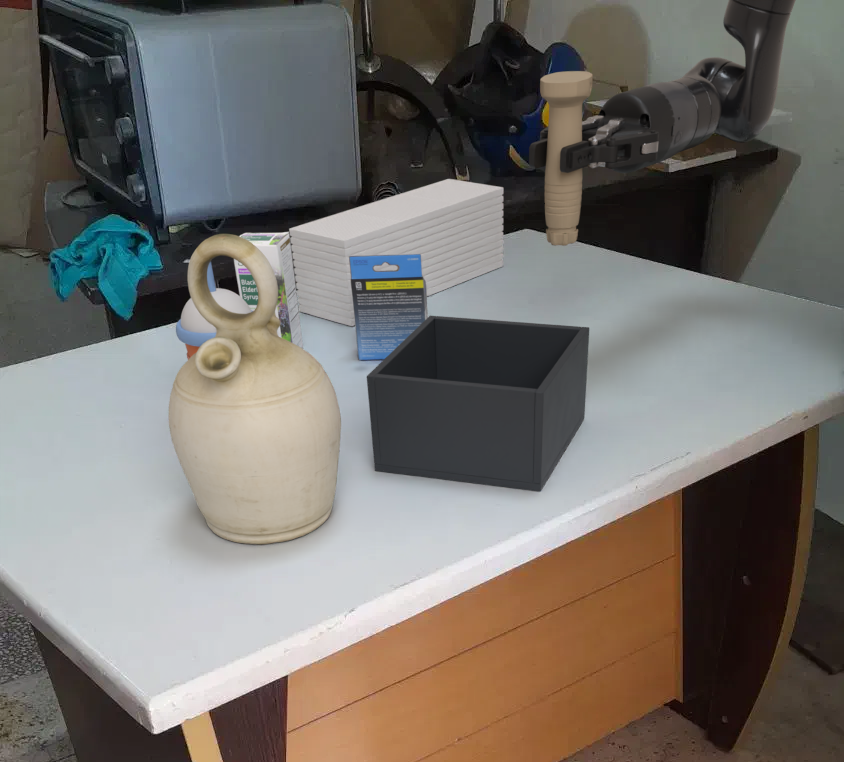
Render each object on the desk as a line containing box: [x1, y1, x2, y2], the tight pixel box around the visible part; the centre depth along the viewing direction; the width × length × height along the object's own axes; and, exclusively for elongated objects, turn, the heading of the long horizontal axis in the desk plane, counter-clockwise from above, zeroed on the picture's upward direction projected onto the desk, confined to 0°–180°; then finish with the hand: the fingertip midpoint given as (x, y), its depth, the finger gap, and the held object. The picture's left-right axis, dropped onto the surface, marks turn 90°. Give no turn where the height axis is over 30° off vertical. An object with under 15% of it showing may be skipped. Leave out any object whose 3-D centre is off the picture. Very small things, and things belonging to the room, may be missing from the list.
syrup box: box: [233, 231, 304, 349], centre depth 124 cm, size 6×6×14 cm
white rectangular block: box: [288, 178, 504, 327], centre depth 144 cm, size 32×11×11 cm, turn 137°
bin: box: [366, 315, 590, 492], centre depth 104 cm, size 18×18×10 cm
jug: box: [168, 233, 342, 545], centre depth 90 cm, size 15×16×25 cm
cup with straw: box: [175, 261, 253, 360], centre depth 110 cm, size 9×9×18 cm
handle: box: [539, 70, 594, 247], centre depth 104 cm, size 5×6×15 cm
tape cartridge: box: [349, 254, 429, 361], centre depth 124 cm, size 9×4×12 cm, turn 84°
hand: (547, 158), depth 102 cm, fingers closed on handle, 3 cm apart
